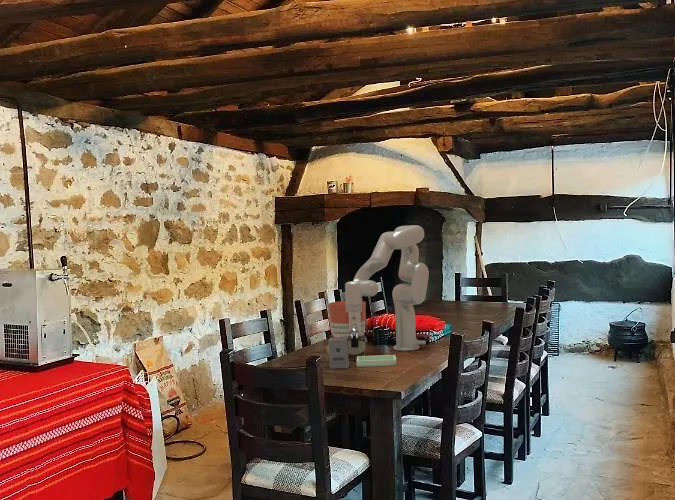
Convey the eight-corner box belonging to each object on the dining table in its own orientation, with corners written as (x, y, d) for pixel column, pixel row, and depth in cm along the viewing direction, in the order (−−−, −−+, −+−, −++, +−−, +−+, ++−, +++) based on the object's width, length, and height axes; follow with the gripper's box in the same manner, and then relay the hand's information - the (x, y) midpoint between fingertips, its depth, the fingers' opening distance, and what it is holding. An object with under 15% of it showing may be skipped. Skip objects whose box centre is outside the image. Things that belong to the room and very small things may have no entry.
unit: (349, 364, 268) (347, 336, 268) (348, 368, 259) (347, 340, 259) (330, 364, 268) (328, 337, 268) (328, 369, 260) (327, 340, 259)
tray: (395, 360, 271) (395, 354, 271) (396, 365, 260) (396, 359, 260) (357, 361, 272) (356, 356, 272) (356, 367, 261) (356, 361, 261)
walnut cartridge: (337, 359, 279) (337, 344, 278) (337, 362, 274) (336, 346, 273) (326, 360, 279) (326, 345, 279) (326, 362, 274) (325, 347, 274)
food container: (371, 357, 281) (370, 335, 281) (367, 359, 276) (366, 337, 276) (345, 356, 286) (344, 335, 285) (341, 359, 280) (340, 337, 280)
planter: (365, 339, 331) (364, 300, 330) (368, 345, 311) (366, 303, 311) (329, 341, 330) (328, 301, 330) (330, 347, 311) (328, 305, 310)
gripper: (361, 310, 271) (363, 348, 271) (362, 306, 289) (363, 342, 289) (345, 310, 272) (346, 349, 272) (346, 306, 289) (347, 342, 289)
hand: (355, 345), depth 280 cm, fingers open, 9 cm apart
